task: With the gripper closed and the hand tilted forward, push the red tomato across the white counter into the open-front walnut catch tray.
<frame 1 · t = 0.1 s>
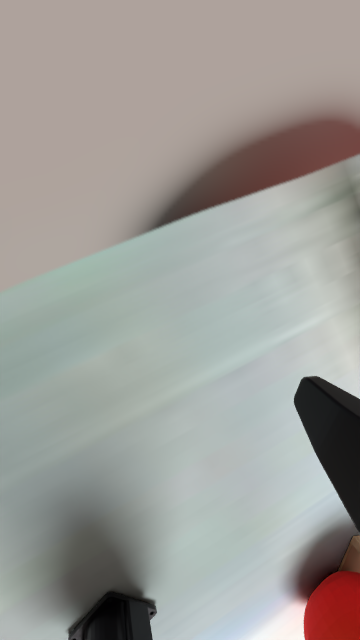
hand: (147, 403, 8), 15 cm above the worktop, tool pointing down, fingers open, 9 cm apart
tomato: (329, 584, 41), on the worktop, touching catch tray
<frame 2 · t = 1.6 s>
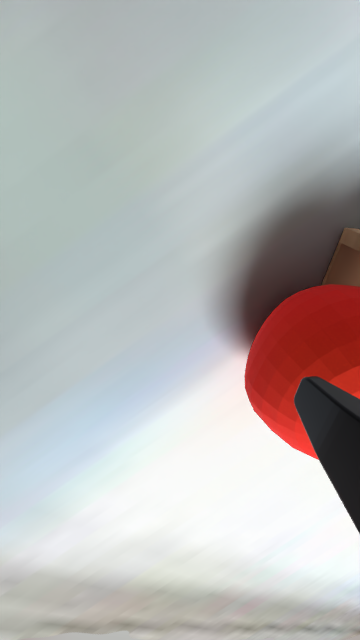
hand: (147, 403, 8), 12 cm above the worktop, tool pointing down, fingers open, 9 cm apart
tomato: (299, 327, 25), on the worktop, touching catch tray
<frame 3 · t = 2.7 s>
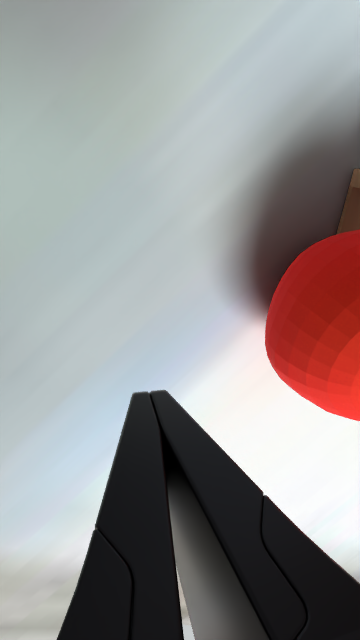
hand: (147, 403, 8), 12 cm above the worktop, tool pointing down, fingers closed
tomato: (316, 287, 23), on the worktop, touching catch tray
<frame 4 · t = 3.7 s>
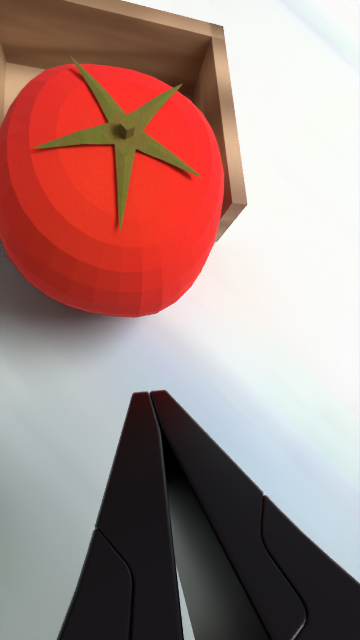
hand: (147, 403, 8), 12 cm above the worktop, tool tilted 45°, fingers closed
tomato: (111, 241, 22), on the worktop, touching catch tray
catch tray: (108, 155, 23), on the worktop
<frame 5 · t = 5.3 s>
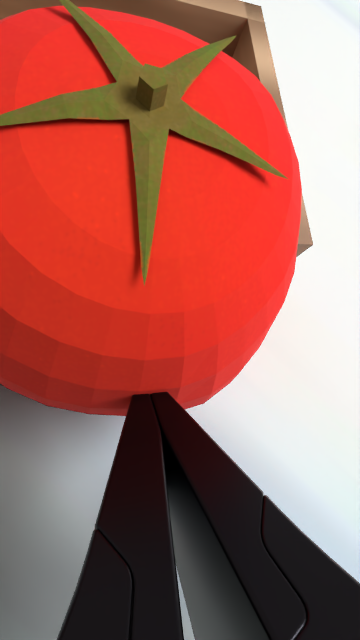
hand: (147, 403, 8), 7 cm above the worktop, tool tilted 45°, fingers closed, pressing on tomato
tomato: (117, 287, 16), on the worktop, touching gripper
catch tray: (111, 177, 18), on the worktop
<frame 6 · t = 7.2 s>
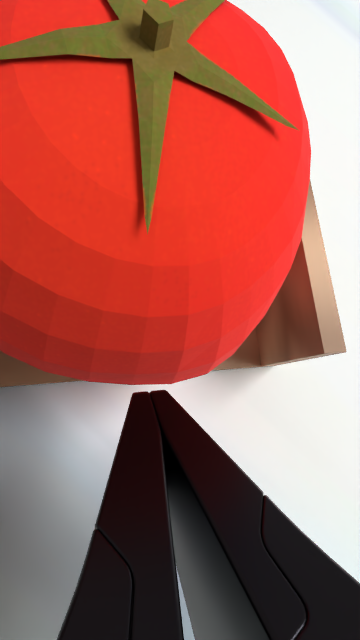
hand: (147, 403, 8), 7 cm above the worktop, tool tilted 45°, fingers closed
tomato: (117, 264, 16), resting on catch tray
catch tray: (116, 247, 16), on the worktop
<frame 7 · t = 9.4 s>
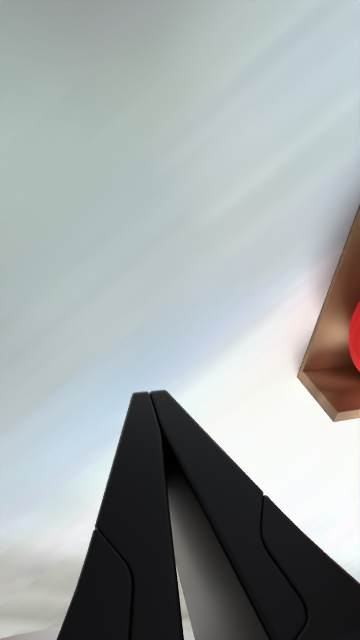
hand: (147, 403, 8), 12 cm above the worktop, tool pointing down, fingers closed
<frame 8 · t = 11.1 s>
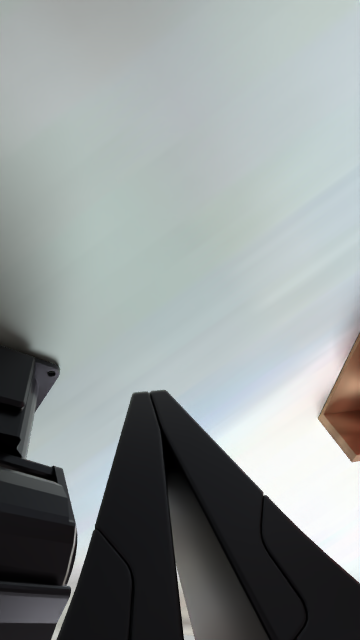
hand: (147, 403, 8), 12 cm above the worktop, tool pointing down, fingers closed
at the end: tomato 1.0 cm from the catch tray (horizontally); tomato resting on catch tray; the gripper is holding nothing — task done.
